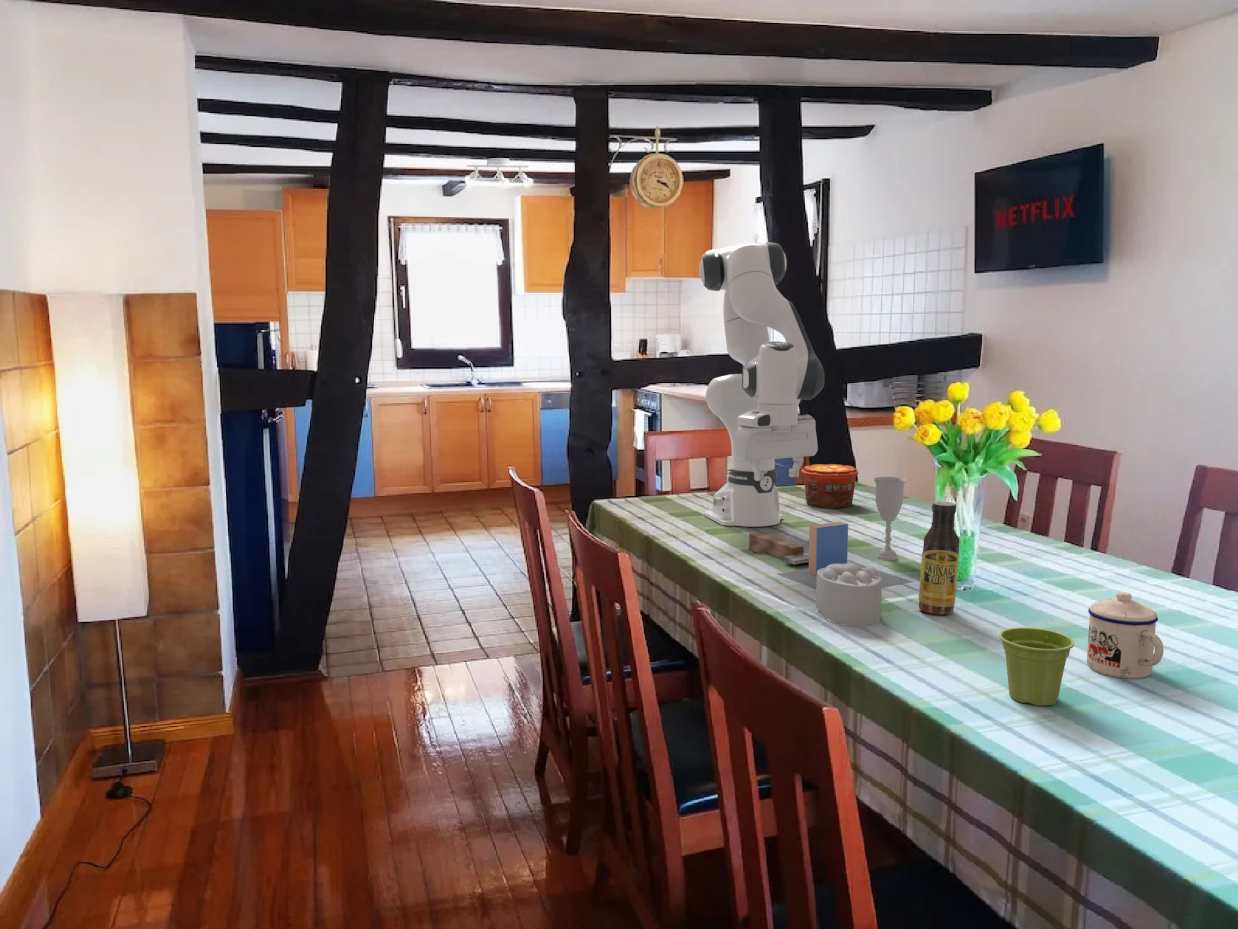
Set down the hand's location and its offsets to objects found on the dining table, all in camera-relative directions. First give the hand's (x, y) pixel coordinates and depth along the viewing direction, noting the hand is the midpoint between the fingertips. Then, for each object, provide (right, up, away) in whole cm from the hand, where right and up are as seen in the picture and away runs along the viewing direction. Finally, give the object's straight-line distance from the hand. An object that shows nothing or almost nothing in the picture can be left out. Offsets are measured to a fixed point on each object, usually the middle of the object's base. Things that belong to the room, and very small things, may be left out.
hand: (776, 478), depth 205 cm
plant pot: (+22, -29, -77) cm, 85 cm away
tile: (+8, -19, -13) cm, 25 cm away
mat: (+11, -20, -18) cm, 29 cm away
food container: (+26, -9, +62) cm, 68 cm away
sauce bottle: (+22, -24, -38) cm, 50 cm away
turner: (+1, -18, +1) cm, 18 cm away
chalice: (+24, -18, -2) cm, 30 cm away
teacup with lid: (+40, -28, -68) cm, 84 cm away
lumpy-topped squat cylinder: (+6, -24, -40) cm, 47 cm away
